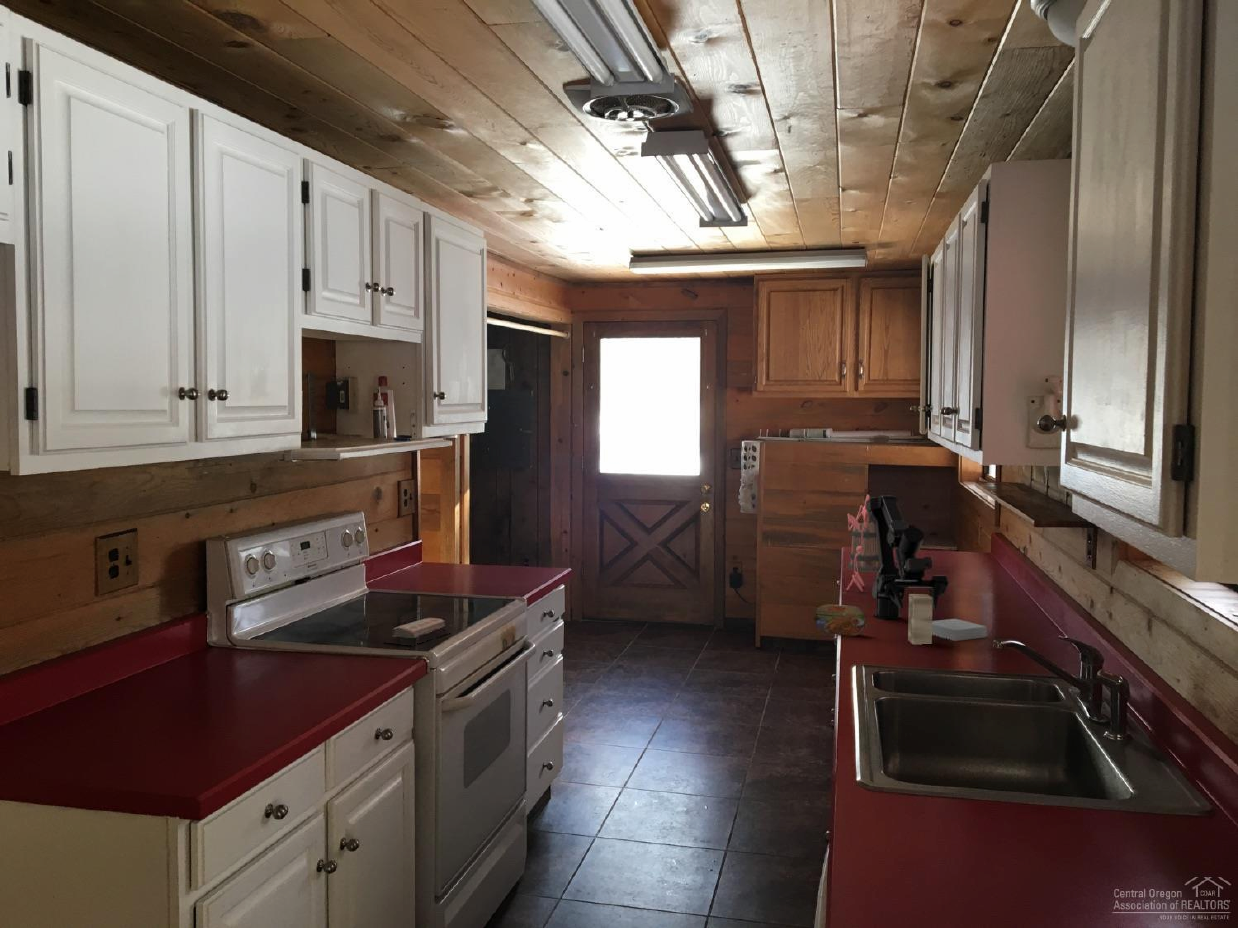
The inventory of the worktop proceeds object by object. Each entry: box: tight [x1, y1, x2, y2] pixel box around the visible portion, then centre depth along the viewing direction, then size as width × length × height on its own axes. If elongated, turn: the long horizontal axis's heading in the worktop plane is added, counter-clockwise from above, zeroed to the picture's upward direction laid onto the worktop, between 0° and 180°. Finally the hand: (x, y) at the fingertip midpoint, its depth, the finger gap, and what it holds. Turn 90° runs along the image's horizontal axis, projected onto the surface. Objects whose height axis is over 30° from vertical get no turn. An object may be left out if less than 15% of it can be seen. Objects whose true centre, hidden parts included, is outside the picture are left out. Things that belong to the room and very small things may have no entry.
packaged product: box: [392, 617, 446, 638], centre depth 265 cm, size 18×5×10 cm
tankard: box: [846, 520, 898, 571], centre depth 392 cm, size 24×17×20 cm
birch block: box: [907, 593, 933, 645], centre depth 262 cm, size 5×5×13 cm
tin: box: [813, 604, 868, 637], centre depth 273 cm, size 15×3×8 cm, turn 62°
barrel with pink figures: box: [841, 494, 871, 594], centre depth 343 cm, size 15×26×35 cm, turn 160°
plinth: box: [932, 618, 988, 642], centre depth 272 cm, size 12×12×3 cm
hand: (918, 608), depth 263 cm, fingers open, 9 cm apart
